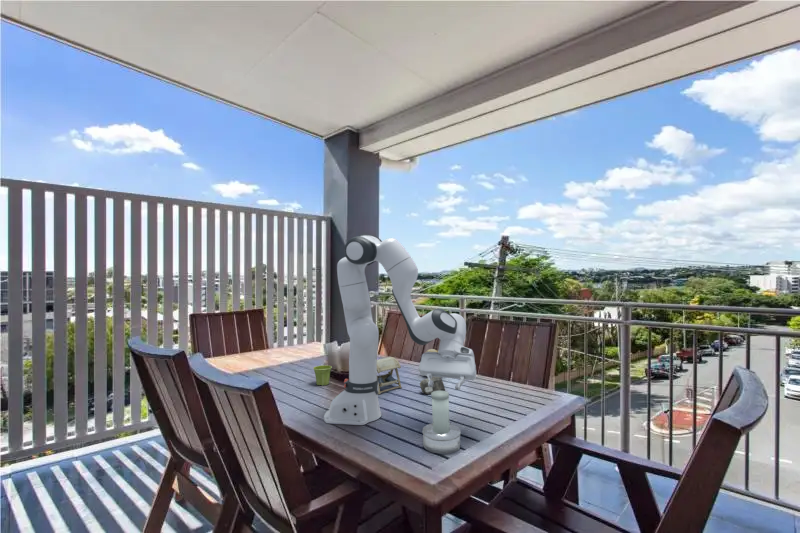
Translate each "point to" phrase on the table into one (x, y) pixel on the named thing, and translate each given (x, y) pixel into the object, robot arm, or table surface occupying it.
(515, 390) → the table surface
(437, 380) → the stone
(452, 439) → the round glass dish
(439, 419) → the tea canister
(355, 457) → the table surface
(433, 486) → the table surface
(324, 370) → the plant pot
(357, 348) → the robot arm
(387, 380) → the swing bench
